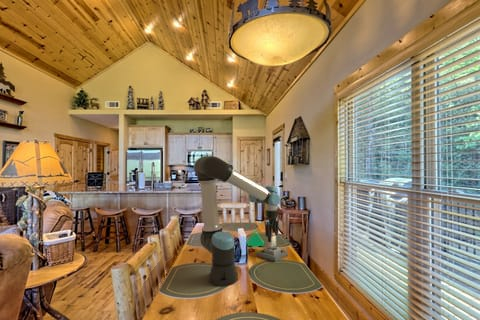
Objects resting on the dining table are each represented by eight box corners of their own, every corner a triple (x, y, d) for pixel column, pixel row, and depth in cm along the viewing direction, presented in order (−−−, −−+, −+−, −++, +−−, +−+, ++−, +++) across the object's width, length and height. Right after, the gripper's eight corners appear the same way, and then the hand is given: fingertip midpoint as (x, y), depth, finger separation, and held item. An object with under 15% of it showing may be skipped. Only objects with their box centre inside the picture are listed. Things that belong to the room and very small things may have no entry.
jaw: (273, 249, 163) (272, 234, 163) (268, 248, 165) (268, 233, 165) (276, 248, 165) (276, 233, 165) (271, 247, 168) (271, 232, 168)
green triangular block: (263, 243, 191) (263, 229, 191) (263, 247, 183) (263, 232, 183) (247, 243, 191) (246, 229, 191) (247, 247, 184) (246, 232, 184)
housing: (275, 262, 156) (275, 254, 156) (257, 256, 165) (257, 248, 165) (287, 255, 166) (287, 247, 166) (269, 250, 175) (269, 243, 175)
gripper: (269, 212, 157) (269, 250, 157) (283, 208, 169) (284, 243, 169) (259, 211, 162) (259, 248, 162) (274, 207, 174) (274, 241, 174)
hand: (272, 245), depth 165 cm, fingers closed on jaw, 3 cm apart
